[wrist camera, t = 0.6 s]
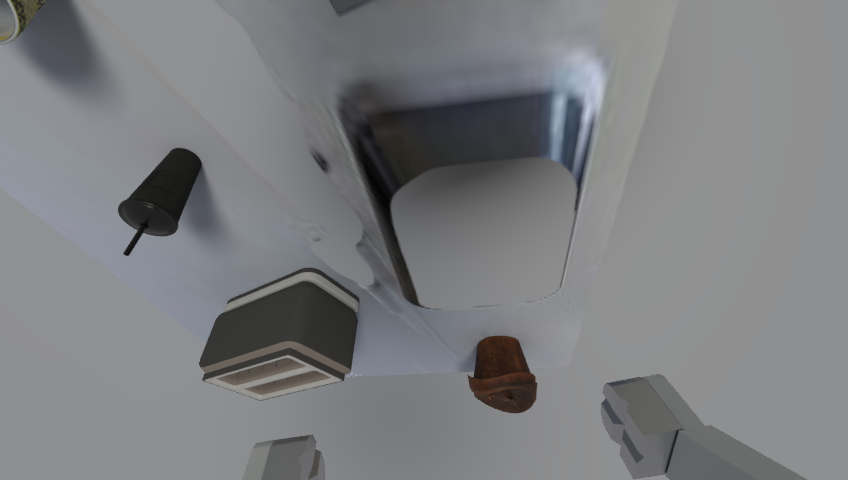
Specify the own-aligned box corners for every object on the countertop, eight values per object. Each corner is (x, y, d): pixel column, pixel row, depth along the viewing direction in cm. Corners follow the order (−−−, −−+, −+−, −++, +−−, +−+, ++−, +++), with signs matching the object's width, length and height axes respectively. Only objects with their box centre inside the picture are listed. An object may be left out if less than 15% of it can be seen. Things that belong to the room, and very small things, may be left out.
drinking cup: (157, 164, 67) (92, 258, 54) (163, 132, 62) (92, 228, 49) (205, 183, 70) (154, 276, 57) (214, 155, 65) (161, 249, 52)
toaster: (215, 303, 103) (183, 382, 89) (311, 263, 88) (290, 349, 75) (273, 332, 115) (252, 405, 102) (365, 301, 100) (355, 381, 87)
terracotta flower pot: (476, 327, 110) (481, 392, 99) (541, 335, 113) (553, 399, 102) (457, 351, 123) (459, 411, 112) (516, 358, 127) (524, 417, 116)
